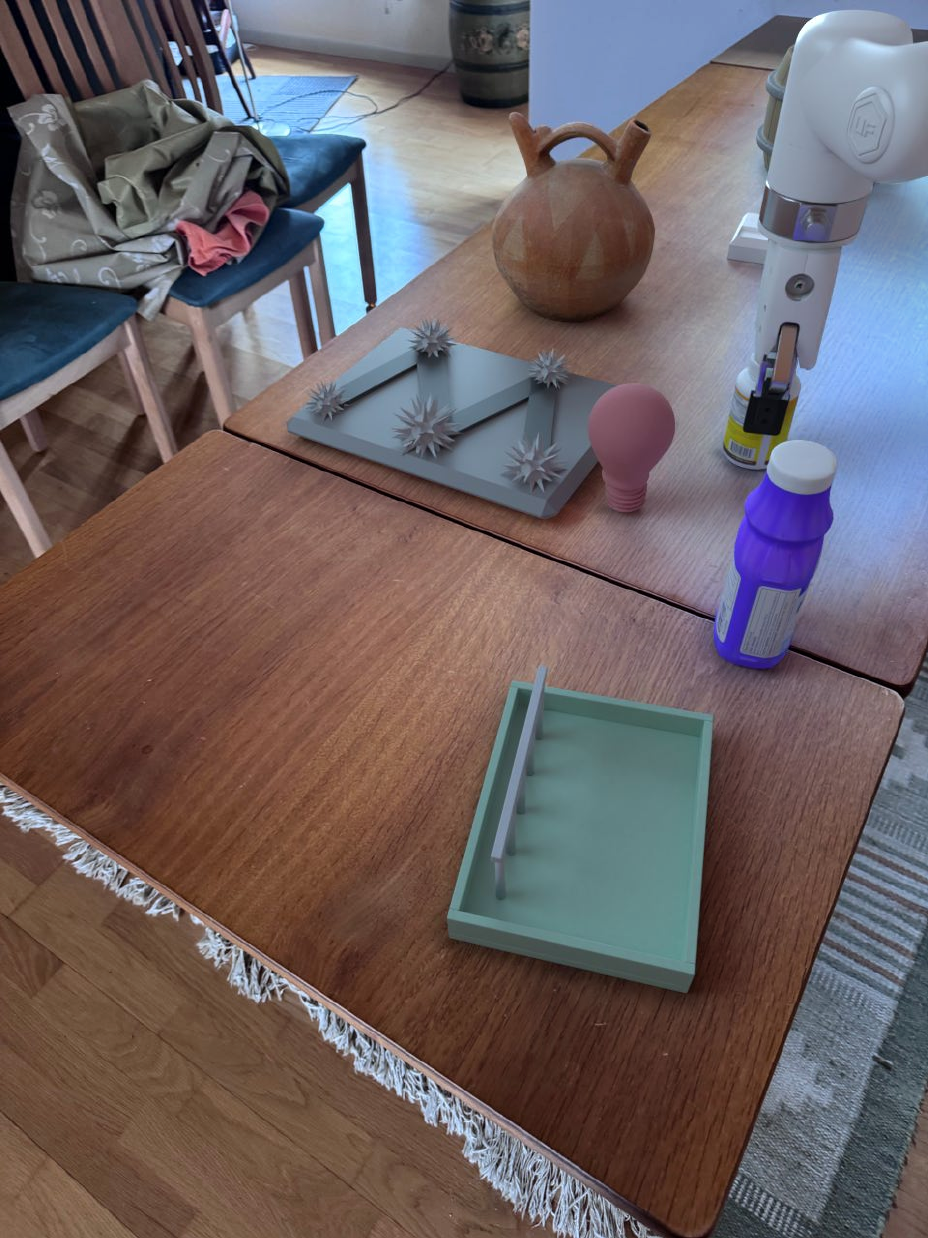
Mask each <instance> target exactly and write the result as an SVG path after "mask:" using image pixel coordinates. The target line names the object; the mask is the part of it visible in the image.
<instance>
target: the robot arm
mask: <svg viewBox="0 0 928 1238" xmlns="http://www.w3.org/2000/svg"><path fill="white" fill-rule="evenodd" d="M794 44H795V47H794V50H793V55H792V60H791V64H790V69H789V74H788V79H787V84H786V89H785V94H784V98H783V103H782V108H781V113H780V118H779V123H778V128H777V132H776V137H775V142H774V147H773V152H772V156H771V161H770V166H769V171H767V177H766V181H765V185H764V191H763V195H762V199H761V205H760V209H759V213H758V214H759V219H758V223H757V227H758V230H759V231H760V232H761V233H762V235H764V236H765V237H766V238H768V239H770V241H769V245H768V250H767V255H766V260H765V264H763V269H762V274H761V279H760V285H759V291H758V298H757V306H756V307H757V308H756V313H755V315H756V316H755V328H754V331H755V332H754V351H755V355H754V358H755V361H756V362H757V363H758V364H759V365H760V368H759V373H758V377H757V382H756V387H755V390H751V394H750V398H749V403H748V407H747V411H746V415H745V420H744V424H743V431H744V432H746V433H753V434H762V435H771V436H778V435H779V434H780V432H781V429H782V425H783V421H784V418H785V414H786V411H787V407H788V403H789V400H790V389H791V385H792V380H793V376H794V371H795V368H796V362H797V359H798V365H799V369H802V370H803V369H805V370H806V371H811V370H812V369H814V368H815V367H816V364H817V360H818V356H819V352H820V347H821V344H822V339H823V335H824V332H825V327H826V323H827V320H828V315H829V311H830V309H831V308H830V307H831V303H832V299H833V296H834V295H833V294H834V291H835V286H836V282H837V277H838V272H839V267H840V262H841V257H842V249H843V247H844V246H848V245H849V244H852V243H853V242H855V240H856V239H857V238H858V237H859V234H860V231H861V227H862V223H863V220H864V218H865V217H864V216H865V213H866V209H867V207H868V203H869V200H870V196H871V193H872V189H873V186H874V183H876V184H881V185H895V184H902V183H908V182H911V181H915V180H918V179H922V178H924V177H928V40H927V41H920V42H914V36H913V32H912V28H911V27H910V26H909V24H908V23H907V22H906V21H905V20H903V19H902V18H900V17H898V16H896V15H893V14H891V13H887V12H882V11H875V10H866V9H865V10H864V9H843V10H842V9H841V10H834V11H829V12H826V13H825V12H824V13H821V14H819V15H817V16H814V17H813V18H812V19H810V20H809V21H807V22H806V24H804V26H803V27H802V28H801V30H800V31H799V33H798V35H797V37H796V40H795V43H794ZM770 352H773V353H776V355H775V359H773V358H767V357H768V354H769V353H770ZM767 368H773V372H772V375H771V377H767V378H766V380H765V376H766V371H767ZM764 380H765V381H764Z"/></svg>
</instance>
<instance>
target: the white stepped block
mask: <svg viewBox="0 0 928 1238" xmlns="http://www.w3.org/2000/svg"><path fill="white" fill-rule="evenodd" d="M759 214H760V213H756V212H747V213H746V214H745V215H744V216H743V217H742V219H741V221H740V223H739V225H738V227H737V228H736V231H735V232H734V235H733V237H732V238H731V240H730V243H729V245H728V250H727V256H726V260H730V261H731V260H732V261H739V262H745V263H751V264H758V265H764V264H765V260H766V255H767V250H768V245H769V241H770V239H768V238H766V237H765V236H764V235H762V233H761V232H760V231H759V230H758V227H757V223H758V219H759Z"/></svg>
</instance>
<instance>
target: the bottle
mask: <svg viewBox="0 0 928 1238" xmlns="http://www.w3.org/2000/svg"><path fill="white" fill-rule="evenodd" d="M838 466H839V461H838V459H837V457H836V455H835V453H834V452H833V451H832V450H831V449H829V448H828V447H826V446H824V445H822V444H820V443H818V442H815V441H810V440H804V439H793V440H787V441H786V442H783V443H781V444H779V445H778V446H776V447H775V448H774V449H773V451H772V453H771V456H770V460H769V463H768V466H767V468H766V471H765V473H764V476H763V479H762V481H761V483H760V484H759V486H757V487H755V489H753V490H752V491H751V492H750V493H749V494H748V496H747V497H746V499H745V501H744V505H743V510H744V516H743V518H742V519H741V522H740V524H739V527H738V530H737V533H736V538H735V540H734V541H735V542H734V547H733V554H732V558H731V561H730V566H729V569H728V572H727V577H726V580H725V583H724V587H723V592H722V594H721V598H720V601H719V602H720V603H719V605H718V606H717V610H716V614H715V616H714V617H715V618H714V625H713V640H714V646H715V649H716V651H717V654H718V656H720V658H723V659H724V660H726V661H727V662H729V663H732V664H734V665H736V666H739V667H740V666H741V667H747V668H749V669H758V670H764V669H772V668H773V667H775V666H777V664H778V663H780V662H781V661H782V660H783V658H784V657H785V656H786V654H787V652H788V650H789V648H790V646H791V643H792V639H793V635H794V630H795V628H796V625H797V621H798V618H799V616H800V613H801V610H802V607H803V604H804V601H805V599H806V595H807V592H808V590H809V588H810V585H811V582H812V580H813V577H814V576H815V574H816V572H817V570H818V567H819V563H820V560H821V556H822V553H823V548H824V540H825V535H826V534H827V533H828V532H829V530H830V529H831V527H832V525H833V522H834V519H835V518H834V517H835V516H834V510H833V508H832V505H831V499H830V498H831V491H832V486H833V483H834V480H835V476H836V473H837V470H838Z"/></svg>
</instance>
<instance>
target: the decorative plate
mask: <svg viewBox="0 0 928 1238" xmlns="http://www.w3.org/2000/svg"><path fill="white" fill-rule="evenodd" d="M424 320H425V321H424ZM419 322H420V326H421V328H419V327H418V326H417V325H415V324H413V326H414V327H413V328H412V327H411V329H409V328H405V327H402V326H401V327H399V328H398V329H396V330H395V331H393V333H391V334H390V335H389V336H387V337H386V338H385V339H384V340H383V341H382V342H380V343H379V344H378V345H377V346H376V347H374V348H373V349H372V350H371V351H369V352H368V353H367V354H366V355H365V356H364V357H362V358H361V359H360V360H358V362H356V363H355V364H354V365H353V366H352V367H350V368H349V369H348V370H347V371H345V372H344V373H342V374H341V375H340V376H339V377H338V378H337V379H335V380H334V381H333V380H332V381H331V380H329V382H328V384H327V387H326V384H325V383H323V382H322V380H321V379H319V380H320V385H321V386H320V385H319V383H318V382H317V381H316V385H317V390H318V392H317V391H315V390H313V389H311V388H310V387H308V389H309V391H310V392H311V393H312V394H311V393H309V392H306V394H307V395H308V396H309V397H310V398H311V400H307V401H304V403H305V405H304V406H302V407H301V408H300V409H299V410H298V411H297V412H296V413H294V414H293V415H292V416H290V418H289V419H288V420H287V421H286V422H285V425H286V430H287V431H286V432H287V433H289V434H291V435H294V436H298V437H301V438H304V439H307V440H309V441H312V442H316V443H318V444H322V445H324V446H327V447H330V448H333V449H335V450H339V451H341V452H344V453H347V454H350V455H354V456H356V457H359V458H362V459H365V460H368V461H371V462H374V463H377V464H380V465H383V466H385V467H389V468H392V469H395V470H397V471H401V472H402V473H403V472H404V473H406V474H408V475H412V476H416V477H419V478H421V479H424V480H427V481H429V482H433V483H436V484H438V485H442V486H445V487H447V488H450V489H453V490H456V491H458V492H462V493H465V494H469V495H471V496H474V497H477V498H479V499H483V500H485V501H488V502H490V503H495V504H497V505H500V506H503V507H506V508H509V509H512V510H515V511H518V512H520V513H524V514H527V515H530V516H533V517H535V518H538V519H542V520H544V521H547V520H549V519H551V518H553V517H555V516H557V515H558V514H559V513H560V511H561V510H562V509H563V507H564V506H565V504H567V502H568V501H569V500H570V499H571V497H572V496H573V495H574V493H575V492H576V491H577V490H578V488H579V487H580V485H582V483H583V482H584V480H585V479H586V478H587V477H588V475H589V474H590V472H591V471H592V470H593V468H594V467H595V466H596V465H597V464H598V462H599V460H598V459H597V457H596V455H595V452H594V450H593V448H592V446H591V443H590V440H589V435H588V422H589V417H590V414H591V411H592V409H593V407H594V405H595V404H596V402H597V401H598V400H599V398H600V397H601V396H602V395H603V394H605V393H606V392H607V391H609V390H610V389H612V388H614V387H616V386H619V385H620V384H615V383H611V382H607V381H604V380H600V379H597V378H593V377H589V376H585V375H582V374H577V373H573V372H569V370H570V369H572V366H564V365H565V363H566V362H567V361H568V360H569V359H570V357H568V358H565V357H566V355H565V354H563V355H562V356H560V358H558V359H557V355H558V350H555V353H554V348H552V350H549V354H547V353H546V350H545V348H543V350H541V353H539V352H537V354H538V357H539V358H538V357H537V356H534V357H535V359H533V358H531V360H532V361H531V360H525V359H521V358H517V357H513V356H510V355H508V354H507V355H506V354H502V353H499V352H495V351H490V350H488V349H483V348H480V347H476V346H474V345H473V346H472V345H470V344H465V343H461V342H459V341H458V342H457V341H454V339H456V338H457V336H451V333H449V332H450V331H451V330H452V329H453V328H454V326H452V327H450V325H448V323H446V324H444V325H443V326H442V327H441V322H442V320H441V319H440V317H437V320H436V315H435V317H434V319H433V322H432V318H430V319H429V322H428V319H427V318H426V317H424V319H421V321H419ZM541 354H542V355H541ZM564 358H565V359H564ZM563 359H564V360H563Z"/></svg>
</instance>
